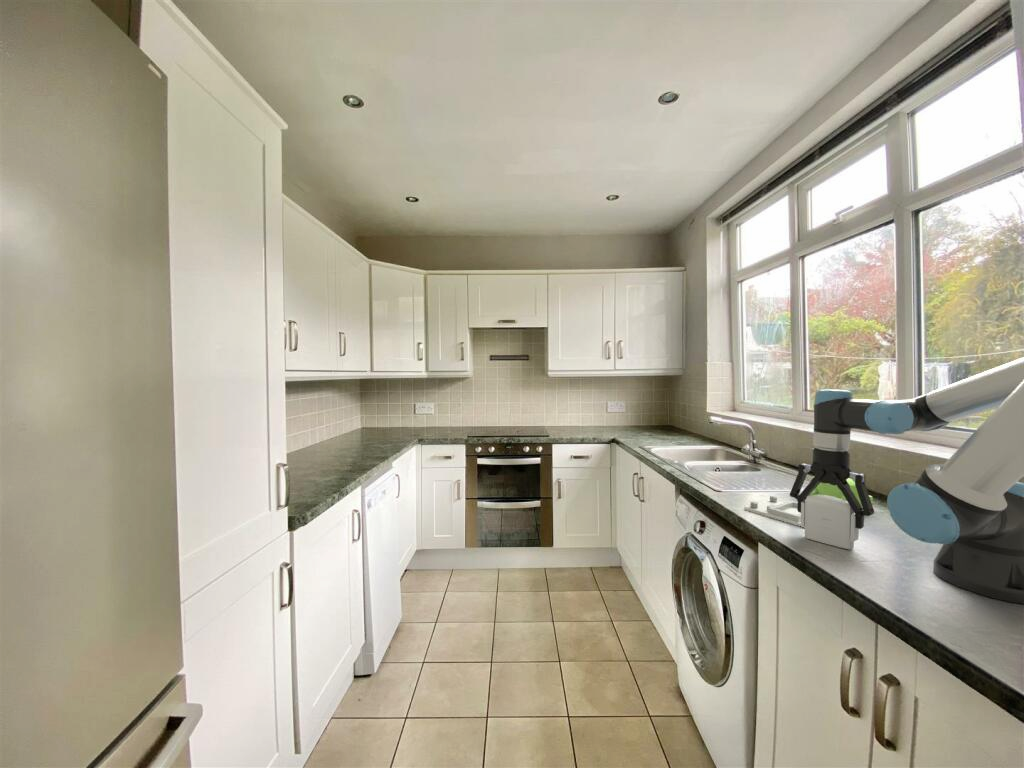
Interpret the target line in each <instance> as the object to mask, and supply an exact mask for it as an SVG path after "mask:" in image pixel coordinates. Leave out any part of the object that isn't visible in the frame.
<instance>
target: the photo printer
mask: <svg viewBox="0 0 1024 768" xmlns="http://www.w3.org/2000/svg"><path fill="white" fill-rule="evenodd" d="M852 514H854V511H853V510H852V508H851V506H850V505H849V503H848V502H847V501H845V500H842V499H840V498H836V497H832V496H827V495H808V496H807V498H806V500H805V528H804V538H805V539H807V540H811V541H815V542H818V543H822V544H826V545H829V546H833V547H837V548H840V549H845V550H853V549H854V548H855V541H850V529H851V515H852Z"/></svg>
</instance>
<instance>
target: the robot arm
mask: <svg viewBox="0 0 1024 768" xmlns="http://www.w3.org/2000/svg"><path fill="white" fill-rule="evenodd" d="M813 402H814V403H813V415H814V416H813V435H812V436H813V437H812V438H813V439H812V445H813V446H814V447H813V448H812V463H811V464H807V463H805V462H804V463H800V464H798V468H797V469H798V471H797V472H798V473H797V475H796V477H795V481H794V483H793V485H792V487H791V490H790V492H789V496H790V498H794V499H796V502H798V507H797V510H798V512H800V513H801V526H805V501H806V499H807V496H808V495H810V494H811V493H812V491H813V490H814V489H815V488H816V487H817V486H818V485H819V483H829V484H831V485H835V486H836V485H837V487H838V488H839V489H840V490H841V491H842V493H843V495H844V496H845V498H846V500H847V501H848V503H849V505H850V506H851V508H852V510H853V511H854V514H852V515H851V529H850V541H854V542H855V541H858V540H859V535H860V534H859V532H860V530H861V529H863V528H864V526H865V525H864V524H865V516H866V517H869V516H872V515H874V514H875V510H874V507H873V506H874V505H873V502H871V500H870V497H869V495H870V494H869V491H868V488H867V485H866V477H867V476H866V474H865V473H856V472H853V471H851V468H850V464H851V463H850V460H851V459H850V458H851V452H850V451H849V450H850V449H851V431H852V430H859V431H866V432H873V433H878V434H882V435H902V434H904V433H905V432H931V431H936V430H938V431H939V430H940V429H944V428H945V427H947V426H948V425H949V424H950V423H952V422H955V421H958V420H963V419H966V418H970V417H972V416H976V415H978V414H982V413H986V412H989V411H992V410H994V411H993V412H992V413H991V414H990V415H989V416H988V417H987V418H986V419H985V420H984V421H983V422H982V424H980V425H979V427H978V428H976V430H975V431H974V432H973V433H972V434H971V435H970V436H969V437H968V438H967V439H966V440H965V441H964V442H963V444H961V446H960V447H958V449H956V451H955V452H954V453H953V454H952V455H951V456H950V457H949V458H948V459H947V460H946V461H945V462H944V463H943V464H941V463H939V464H930V465H928V466H926V468H925V469H924V470H923V471H922V472H921V473H920V475H918V477H917V478H916V479H915V480H914V481H913V482H905V483H902V484H898V485H897V486H895V487H893V488H892V489H891V490H889V493H888V495H887V498H886V505H887V506H886V508H887V509H888V510H889V515H890V517H891V519H892V521H893V522H894V523H895V524H896V526H897V527H898V528H899V529H900V530H901V531H903V532H904V533H905V534H906V535H908V536H910V537H911V538H912V539H915V540H917V541H920V542H923V543H925V544H926V543H927V544H939V545H941V547H940V549H939V551H938V552H937V554H936V556H935V557H934V560H933V567H932V569H933V573H934V574H935V575H936V576H937V577H939V578H940V579H941V580H944V581H945V582H947V583H949V584H951V585H954V586H956V587H958V588H960V589H964V590H966V591H969V592H971V593H972V592H973V593H974V594H978V595H982V596H985V597H989V598H992V599H996V600H999V601H1005V602H1010V603H1015V604H1023V605H1024V483H1023V482H1021V481H1020V480H1021V479H1022V478H1023V477H1024V356H1023V357H1020V358H1018V359H1016V360H1013V361H1010V362H1007V363H1005V364H1002V365H999V366H996V367H994V368H991V369H988V370H986V371H983V372H981V373H978V374H975V375H973V376H970V377H968V378H965V379H962V380H959V381H957V382H954V383H951V384H949V385H946V386H943V387H940V388H937V389H936V390H931V392H928V393H925V394H921V395H919V396H916V397H914V398H910V399H860V398H859V399H858V398H853V393H852V391H850V390H847V389H817V391H816V392H815V393H814V401H813ZM810 471H811V472H812V473H813V474H814V478H813V477H812V479H811V480H810V482H809V483H808V484H807V486H806V487H804V489H803V490H802V488H803V485H804V483H805V480H806V477H807V476H808V473H809V472H810ZM848 478H850V479H852V480H853V481H854V482H855V486H856V489H857V492H858V495H859V498H860V501H861V505H862V506H861V505H860V503H859V502H858V500H857V498H856V497H855V495H854V493H853V492H852V490H851V489H850V485H849V484H848V482H847V479H848ZM801 490H802V491H801Z"/></svg>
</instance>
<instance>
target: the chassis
mask: <svg viewBox="0 0 1024 768" xmlns="http://www.w3.org/2000/svg"><path fill="white" fill-rule="evenodd" d="M797 507H798V501H794V500H789V501H786V502H782V501H779V500H778V497H777V496H769V498H767V499H765V500H763V501H759V502H755V501H751V502H750V504H749V505H745V506H744V508H743V510H745V511H747V512H750V511H751V513H754V514H758V515H760V514H761V515H760V516H763V515H764V516H763V517H767V518H770V517H771V519H773V518H774V520H777V519H778V521H780V520H781V522H783V521H784V523H787V522H788V523H787V524H790V523H791V524H790V525H793V524H794V526H797V525H798V526H797V527H800V526H801V513H800V512H798V510H797ZM803 527H804V529H805V526H801V528H803Z"/></svg>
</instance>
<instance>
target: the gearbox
mask: <svg viewBox="0 0 1024 768" xmlns="http://www.w3.org/2000/svg"><path fill="white" fill-rule="evenodd" d="M814 476H815V475H814ZM814 476H812V479H813V478H814ZM847 482H848V484H849V485H850V489H851V490H852V492H853V493H854V495H855V497H856V498H857V500H858V502H859V503H860V505H861V501H860V498H859V495H858V492H857V489H856V486H855V482H854V481H853V480H852V478H851V477H849V478H848V479H847ZM810 495H827V496H832V497H836V498H840V499H842V500H845V501H847V500H846V498H845V496H844V495H843V493H842V491H841V490H840V489H839V488H838V487H837V485H836V486H835V485H831V484H829V483H819V485H818V486H817V487H816V488H815V489H814V490H813V491H812V493H811V494H810ZM869 497H870V500H871V503H873V500H874V498H873V496H872V495H870V494H869ZM847 502H848V501H847ZM861 506H862V505H861Z"/></svg>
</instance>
